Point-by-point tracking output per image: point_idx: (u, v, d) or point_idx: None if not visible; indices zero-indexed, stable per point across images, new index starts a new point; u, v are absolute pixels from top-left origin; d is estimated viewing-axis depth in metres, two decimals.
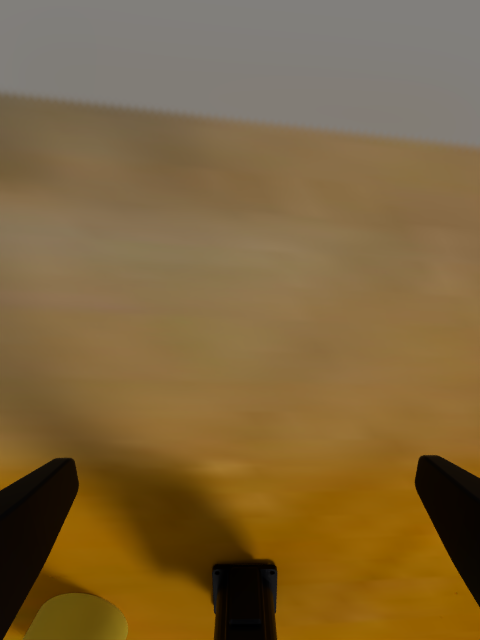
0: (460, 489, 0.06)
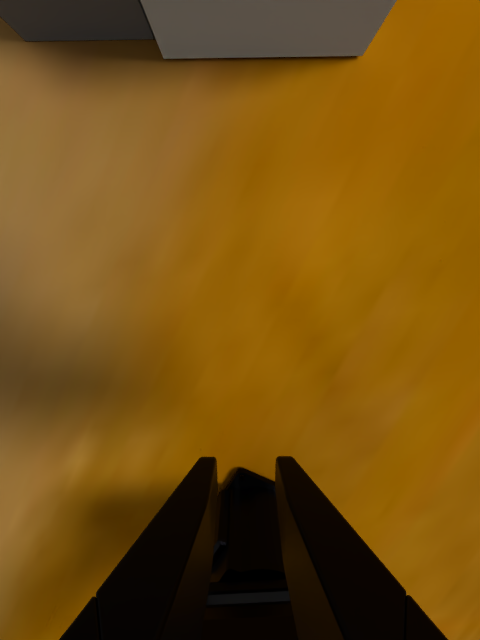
0: (283, 490, 0.06)
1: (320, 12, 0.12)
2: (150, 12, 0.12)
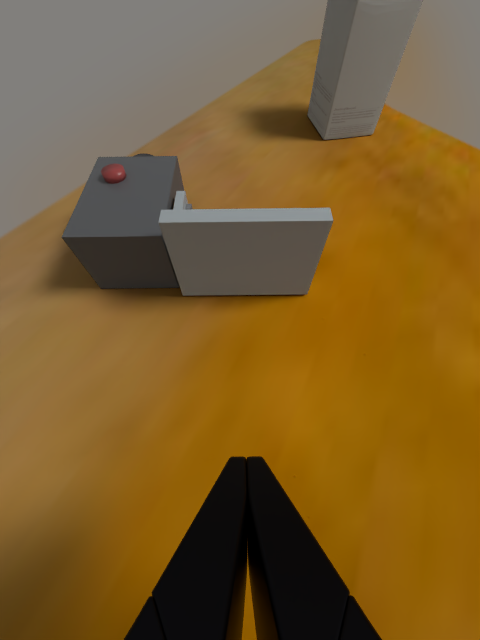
0: (247, 491, 0.06)
1: (275, 274, 0.21)
2: (178, 273, 0.21)
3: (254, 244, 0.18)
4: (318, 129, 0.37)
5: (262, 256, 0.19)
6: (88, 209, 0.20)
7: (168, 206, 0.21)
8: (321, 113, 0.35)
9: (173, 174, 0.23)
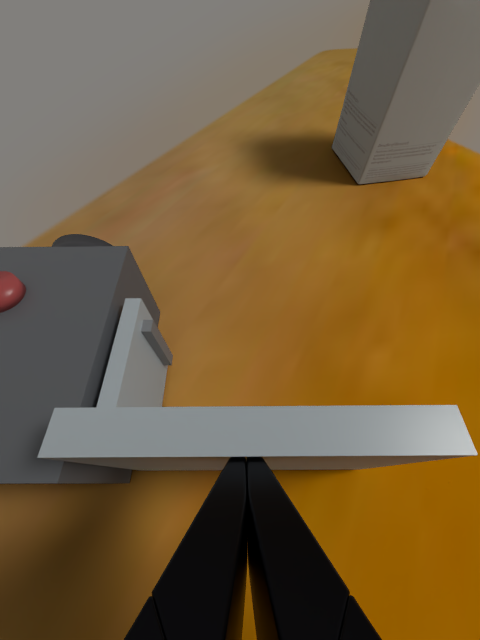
0: (247, 490, 0.06)
1: (308, 466, 0.11)
2: None
3: (273, 461, 0.08)
4: (349, 169, 0.26)
5: (288, 464, 0.09)
6: None
7: (94, 372, 0.10)
8: (356, 148, 0.25)
9: (115, 289, 0.12)
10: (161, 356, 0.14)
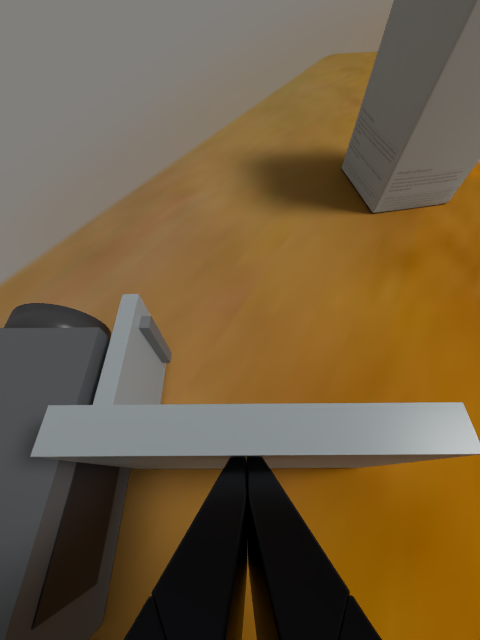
0: (247, 491, 0.06)
1: (309, 465, 0.11)
2: (120, 466, 0.11)
3: (274, 460, 0.08)
4: (363, 194, 0.24)
5: (289, 462, 0.09)
6: None
7: (43, 533, 0.07)
8: (371, 173, 0.22)
9: (79, 394, 0.09)
10: (159, 353, 0.14)
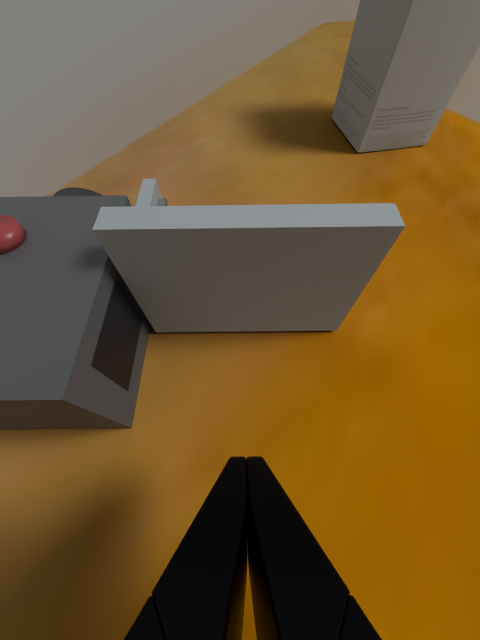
0: (247, 490, 0.06)
1: (292, 306, 0.14)
2: (144, 306, 0.14)
3: (262, 265, 0.11)
4: (349, 137, 0.26)
5: (274, 282, 0.12)
6: None
7: (96, 308, 0.10)
8: (356, 114, 0.25)
9: None
10: None
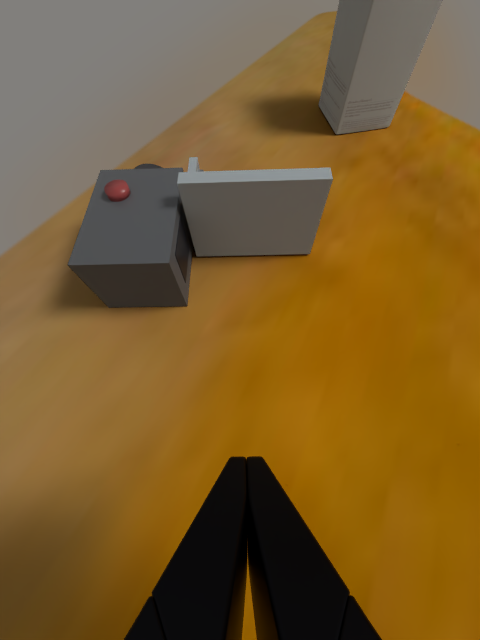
0: (247, 491, 0.06)
1: (280, 233, 0.23)
2: (193, 234, 0.23)
3: (262, 204, 0.20)
4: (330, 122, 0.34)
5: (269, 215, 0.21)
6: (93, 232, 0.20)
7: (175, 227, 0.20)
8: (334, 105, 0.33)
9: None
10: None
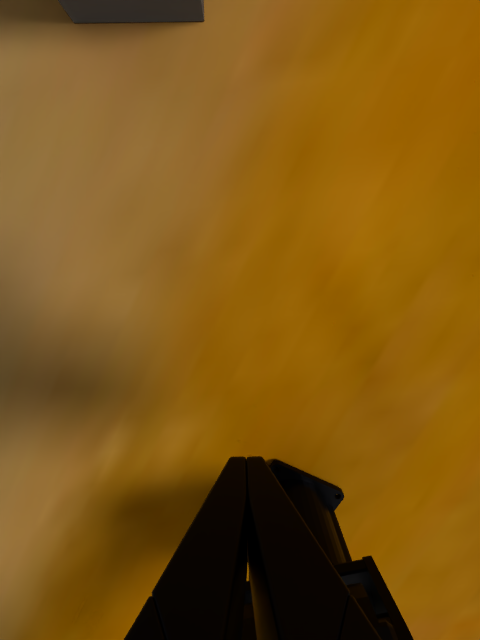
0: (247, 490, 0.06)
1: None
2: None
3: None
4: None
5: None
6: None
7: None
8: None
9: None
10: None
